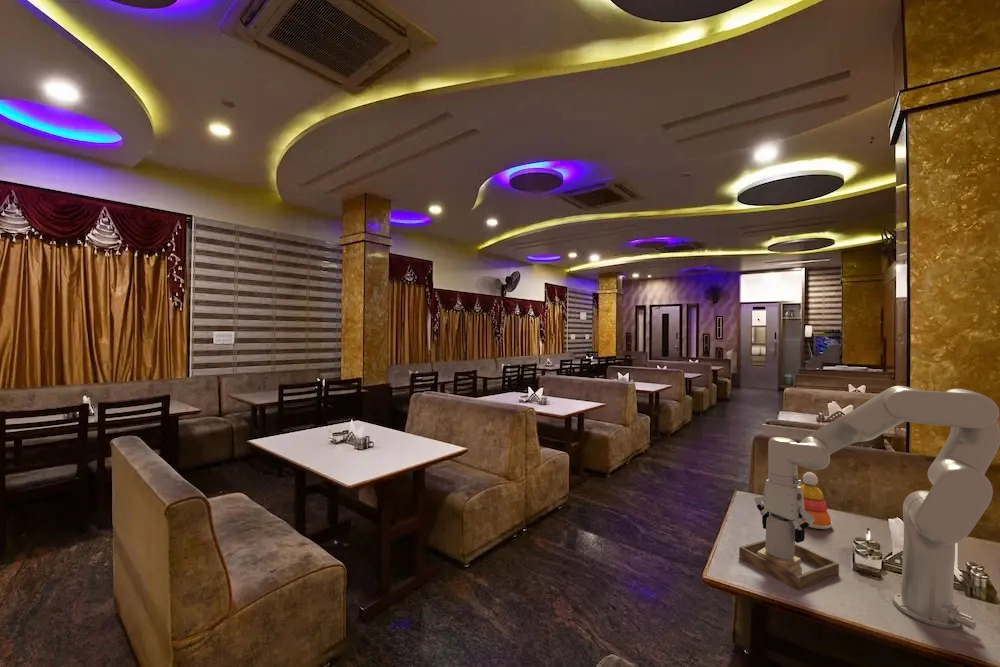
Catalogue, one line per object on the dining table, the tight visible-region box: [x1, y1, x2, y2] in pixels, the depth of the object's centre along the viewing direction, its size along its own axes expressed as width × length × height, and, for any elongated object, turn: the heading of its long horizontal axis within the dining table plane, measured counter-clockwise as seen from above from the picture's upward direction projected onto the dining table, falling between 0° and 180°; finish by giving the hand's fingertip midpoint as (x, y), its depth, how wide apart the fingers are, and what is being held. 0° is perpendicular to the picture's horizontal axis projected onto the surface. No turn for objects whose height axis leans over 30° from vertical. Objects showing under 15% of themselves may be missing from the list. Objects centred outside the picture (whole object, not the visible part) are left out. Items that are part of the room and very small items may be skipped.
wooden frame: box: [738, 539, 840, 591], centre depth 132 cm, size 18×20×4 cm
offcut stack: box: [757, 547, 803, 576], centre depth 130 cm, size 10×9×4 cm
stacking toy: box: [799, 471, 834, 530], centre depth 163 cm, size 14×14×20 cm
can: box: [765, 513, 797, 560], centre depth 130 cm, size 8×8×12 cm
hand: (782, 534), depth 129 cm, fingers open, 9 cm apart
